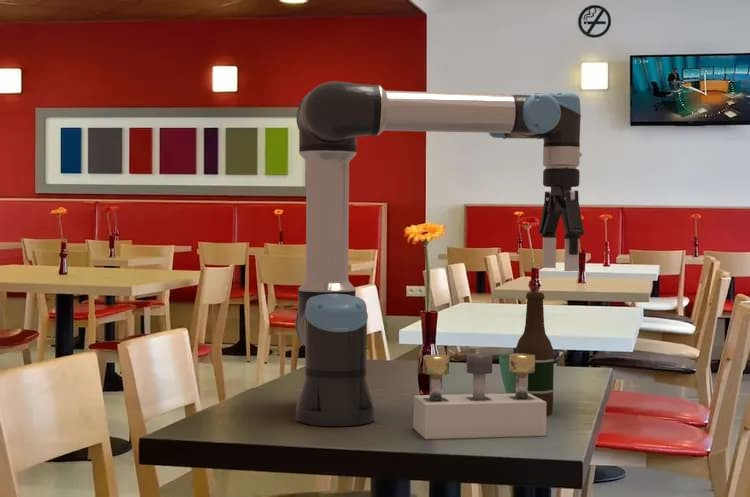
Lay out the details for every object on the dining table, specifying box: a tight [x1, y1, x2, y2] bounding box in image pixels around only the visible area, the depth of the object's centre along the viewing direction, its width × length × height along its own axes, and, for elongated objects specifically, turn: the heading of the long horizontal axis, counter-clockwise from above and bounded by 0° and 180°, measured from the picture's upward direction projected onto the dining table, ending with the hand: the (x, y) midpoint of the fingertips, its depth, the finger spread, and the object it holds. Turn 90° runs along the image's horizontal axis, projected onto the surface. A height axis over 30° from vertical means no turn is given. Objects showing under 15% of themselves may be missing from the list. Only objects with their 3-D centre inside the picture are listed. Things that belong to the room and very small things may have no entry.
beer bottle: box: [514, 291, 555, 416], centre depth 214 cm, size 8×8×24 cm
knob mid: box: [466, 353, 493, 401], centre depth 195 cm, size 5×5×8 cm
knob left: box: [422, 354, 450, 402], centre depth 193 cm, size 5×5×8 cm
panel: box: [412, 393, 547, 440], centre depth 195 cm, size 22×10×6 cm, turn 100°
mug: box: [498, 353, 515, 394], centre depth 226 cm, size 15×10×10 cm
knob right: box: [509, 353, 535, 400], centre depth 196 cm, size 5×5×8 cm
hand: (559, 269), depth 226 cm, fingers open, 13 cm apart
